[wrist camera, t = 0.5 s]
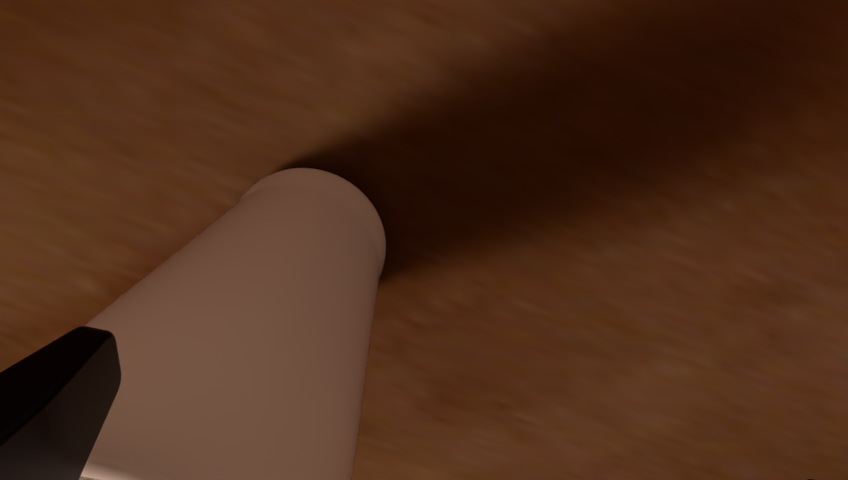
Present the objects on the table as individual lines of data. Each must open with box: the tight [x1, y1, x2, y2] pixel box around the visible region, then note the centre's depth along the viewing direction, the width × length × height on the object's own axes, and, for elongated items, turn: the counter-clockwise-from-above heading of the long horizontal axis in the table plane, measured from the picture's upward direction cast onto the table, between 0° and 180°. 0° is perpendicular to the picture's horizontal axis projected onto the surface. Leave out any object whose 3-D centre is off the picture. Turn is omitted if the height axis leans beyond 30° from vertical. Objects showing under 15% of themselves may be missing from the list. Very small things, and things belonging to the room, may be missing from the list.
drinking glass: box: [79, 168, 386, 480], centre depth 18 cm, size 7×7×15 cm
